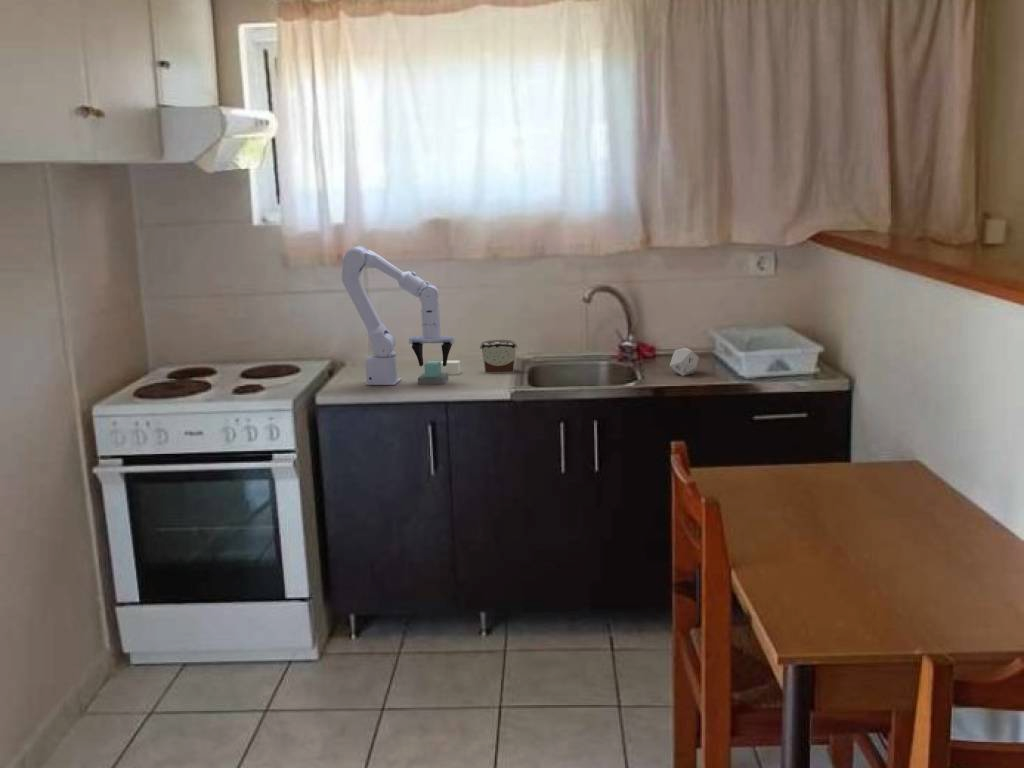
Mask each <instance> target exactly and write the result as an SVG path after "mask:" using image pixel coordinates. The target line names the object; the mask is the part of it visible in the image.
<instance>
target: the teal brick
mask: <svg viewBox="0 0 1024 768" xmlns="http://www.w3.org/2000/svg"><path fill="white" fill-rule="evenodd" d="M441 362H442V360H441V361H440V360H428V361H427V362H426V363H425V364H423V366H424V373H425V377H438V376H439V375H440V374H441Z"/></svg>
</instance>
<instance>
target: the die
mask: <svg viewBox="0 0 1024 768" xmlns="http://www.w3.org/2000/svg"><path fill="white" fill-rule="evenodd" d="M699 358H700V357H699V356H698V355H697V354H696V353H695V351H693V350H692V349H690V348H688V347H683V348H678V349H675V350H674V352H673V354H672V357H671V360H670V364H669V367H670V368H671V369H673V371H675V372H676V373H677V374H678V375H680V376H681V377H682V376H684V377H685V376H688V375H692V374H694V373H695V371H696V369H697V367H698V362H699Z"/></svg>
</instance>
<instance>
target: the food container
mask: <svg viewBox="0 0 1024 768" xmlns="http://www.w3.org/2000/svg"><path fill="white" fill-rule="evenodd" d="M479 349H480V350H481V352H482V359H483V364H484V365H483V366H484V373H485V374H486V373H487V374H492V373H493V374H494V373H495V374H501V372H502V373H503V374H504V373H506V372H507V373H508V374H510V372H515V357H516V349H518V345H517V342H516V341H515V340H512V339H490V340H485V341H483V342H481V343H480V346H479Z"/></svg>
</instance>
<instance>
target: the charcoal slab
mask: <svg viewBox="0 0 1024 768" xmlns="http://www.w3.org/2000/svg"><path fill="white" fill-rule="evenodd" d="M448 379H449V375H448V373H441V374H440V375H439V376H438V377H425V372H423V373H422V374H421V375H419V376H418V378H417V385H444V384H445V383H446V382H447V381H446V380H448ZM445 381H446V382H445Z"/></svg>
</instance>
